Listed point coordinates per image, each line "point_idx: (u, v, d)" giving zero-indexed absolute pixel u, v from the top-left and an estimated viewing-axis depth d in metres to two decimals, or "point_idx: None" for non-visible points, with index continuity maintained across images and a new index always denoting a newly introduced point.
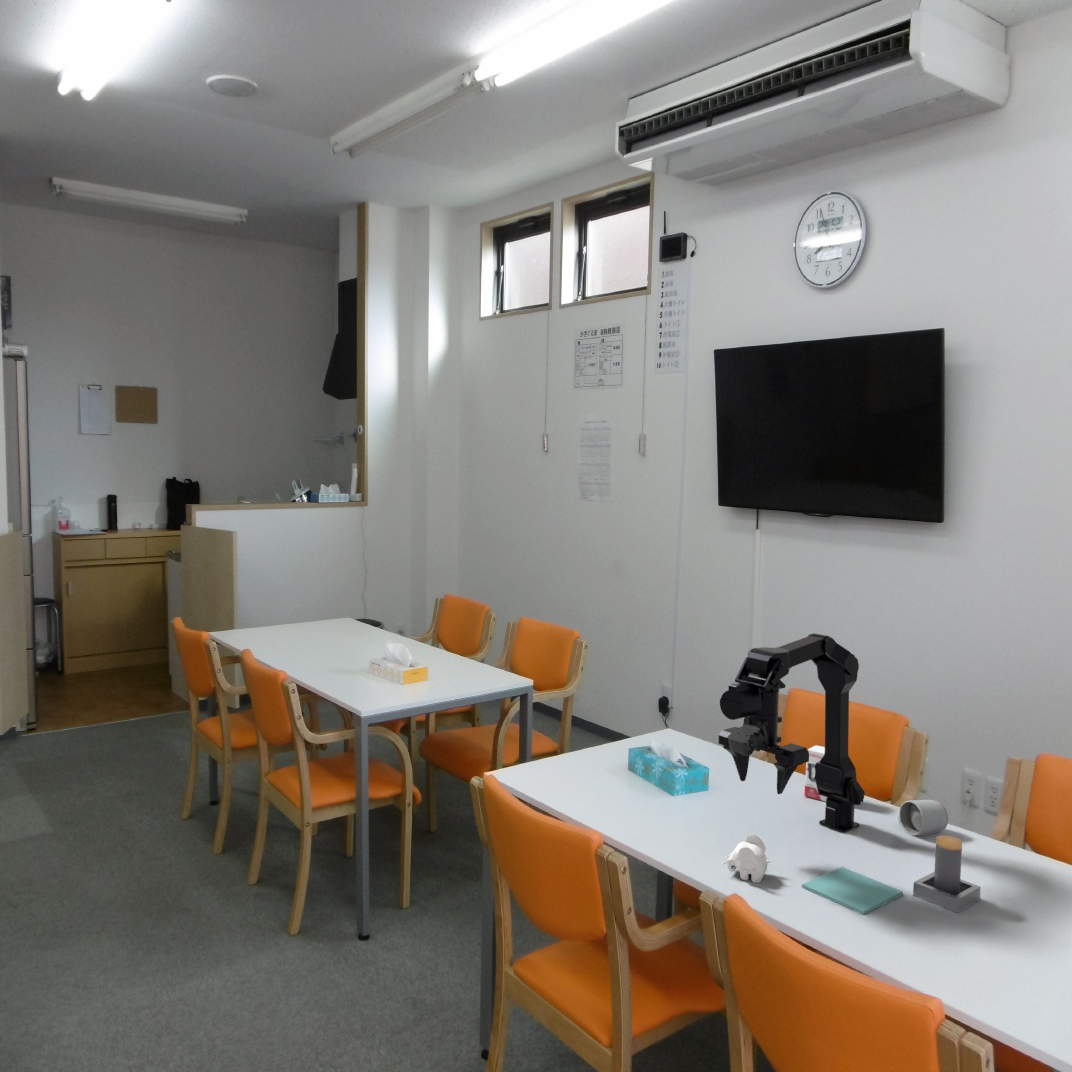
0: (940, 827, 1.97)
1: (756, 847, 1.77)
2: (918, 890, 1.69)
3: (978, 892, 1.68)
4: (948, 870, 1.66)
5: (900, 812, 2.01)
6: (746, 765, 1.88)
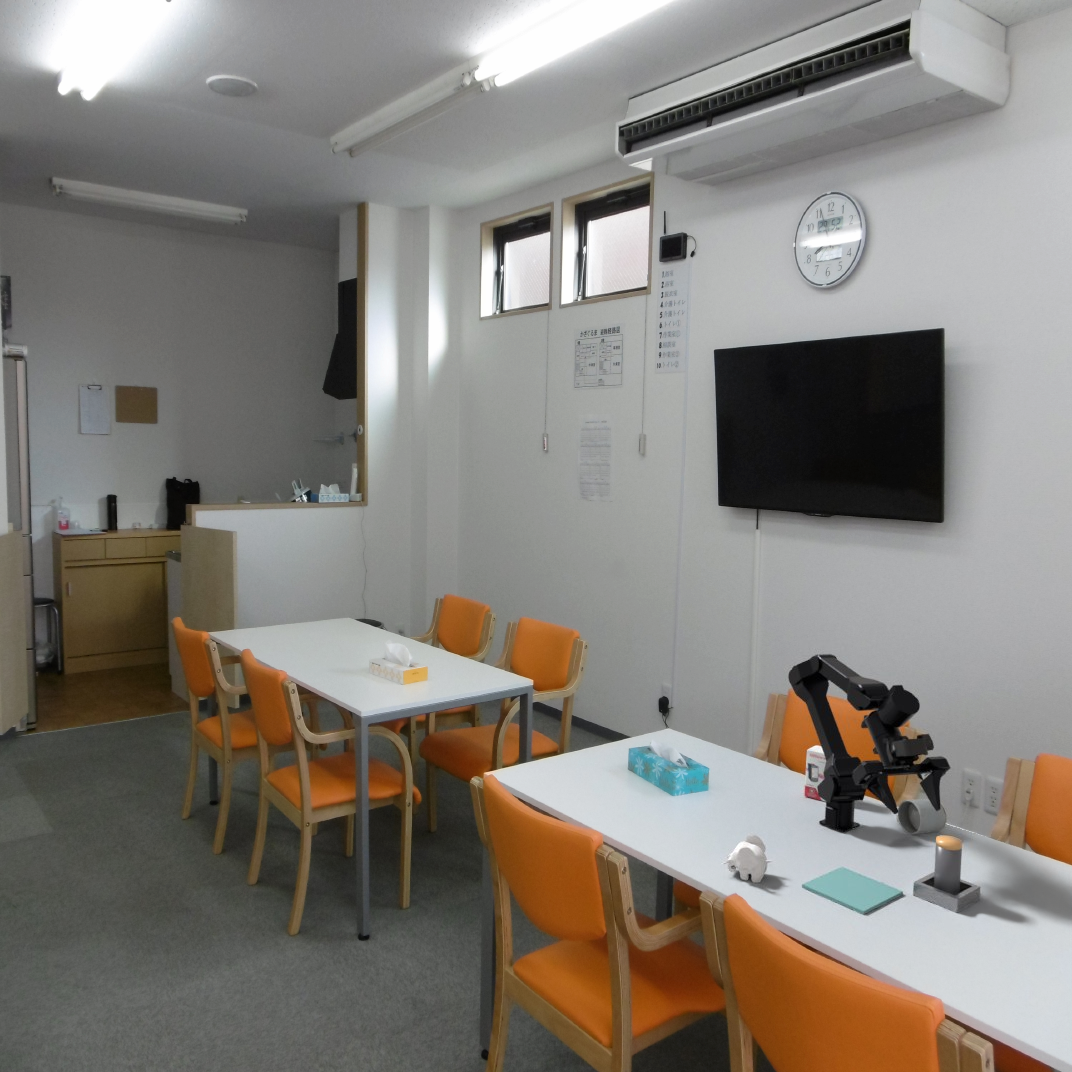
0: (939, 826, 1.97)
1: (756, 847, 1.77)
2: (918, 890, 1.69)
3: (978, 892, 1.68)
4: (948, 870, 1.66)
5: (898, 811, 2.02)
6: None
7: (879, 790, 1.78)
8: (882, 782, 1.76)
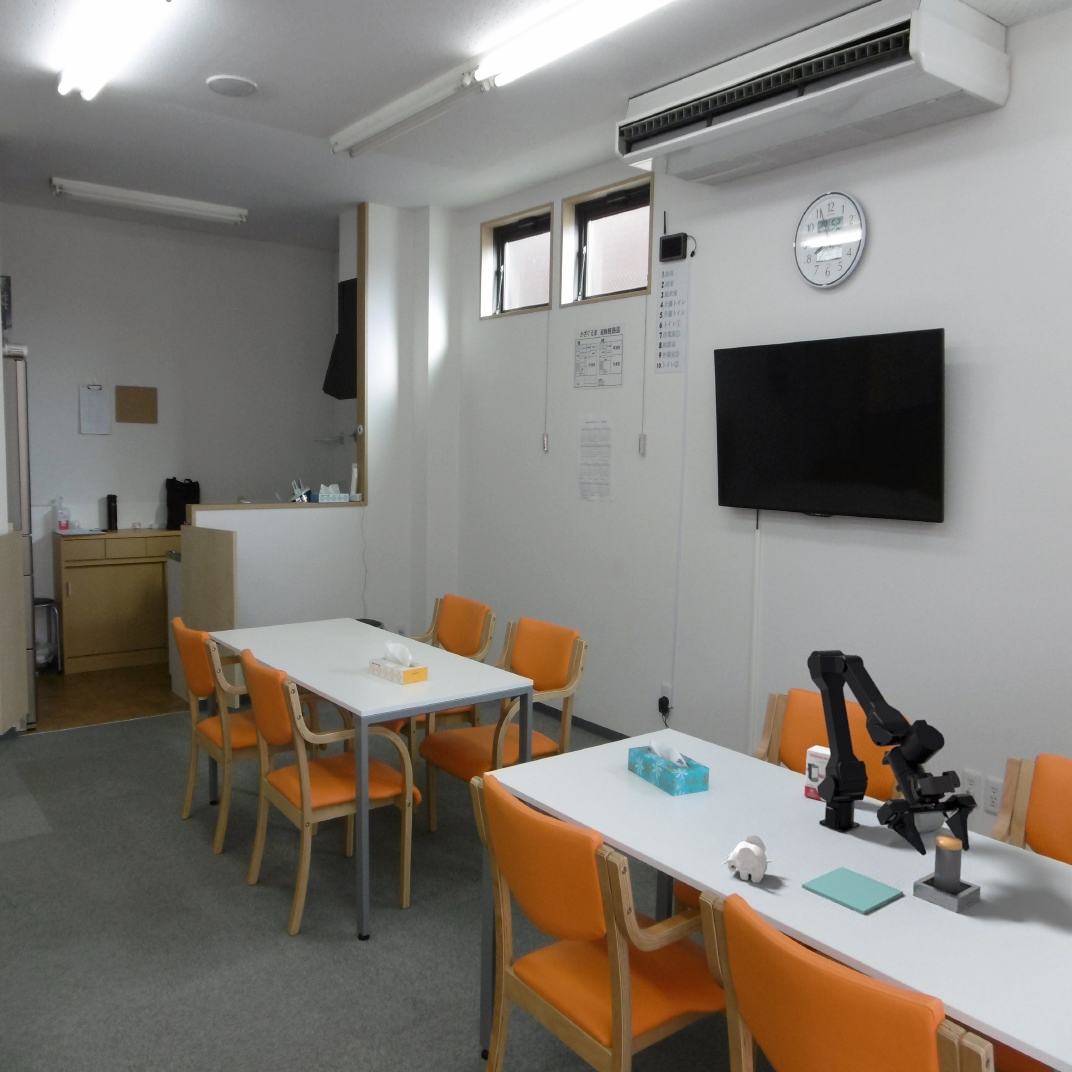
0: (937, 825, 1.98)
1: (756, 847, 1.77)
2: (918, 890, 1.69)
3: (978, 892, 1.68)
4: (948, 870, 1.66)
5: None
6: None
7: (905, 830, 1.71)
8: (909, 822, 1.70)
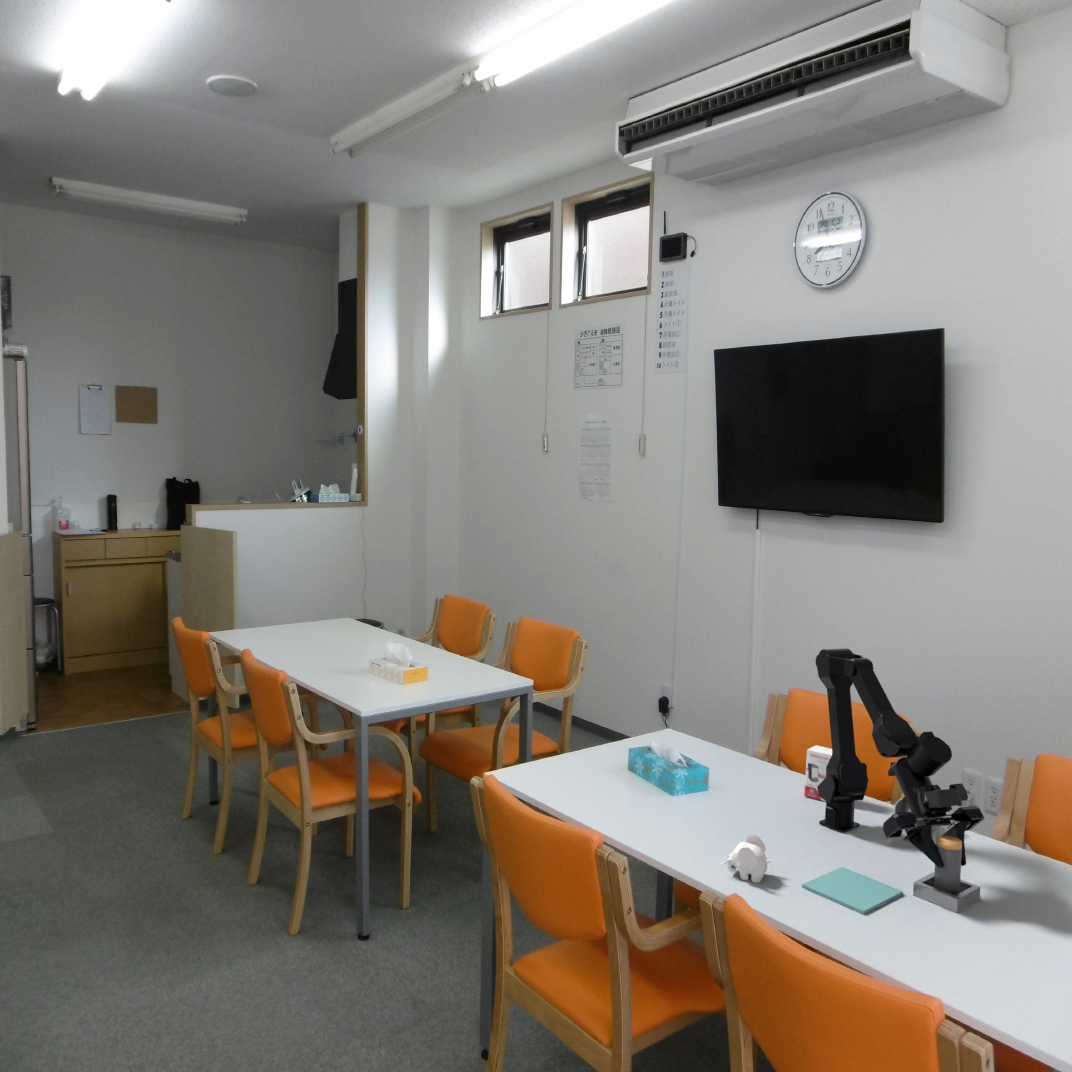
0: None
1: (756, 847, 1.77)
2: (918, 890, 1.69)
3: (978, 892, 1.68)
4: (948, 870, 1.66)
5: (895, 809, 2.03)
6: None
7: (922, 843, 1.70)
8: (926, 834, 1.68)
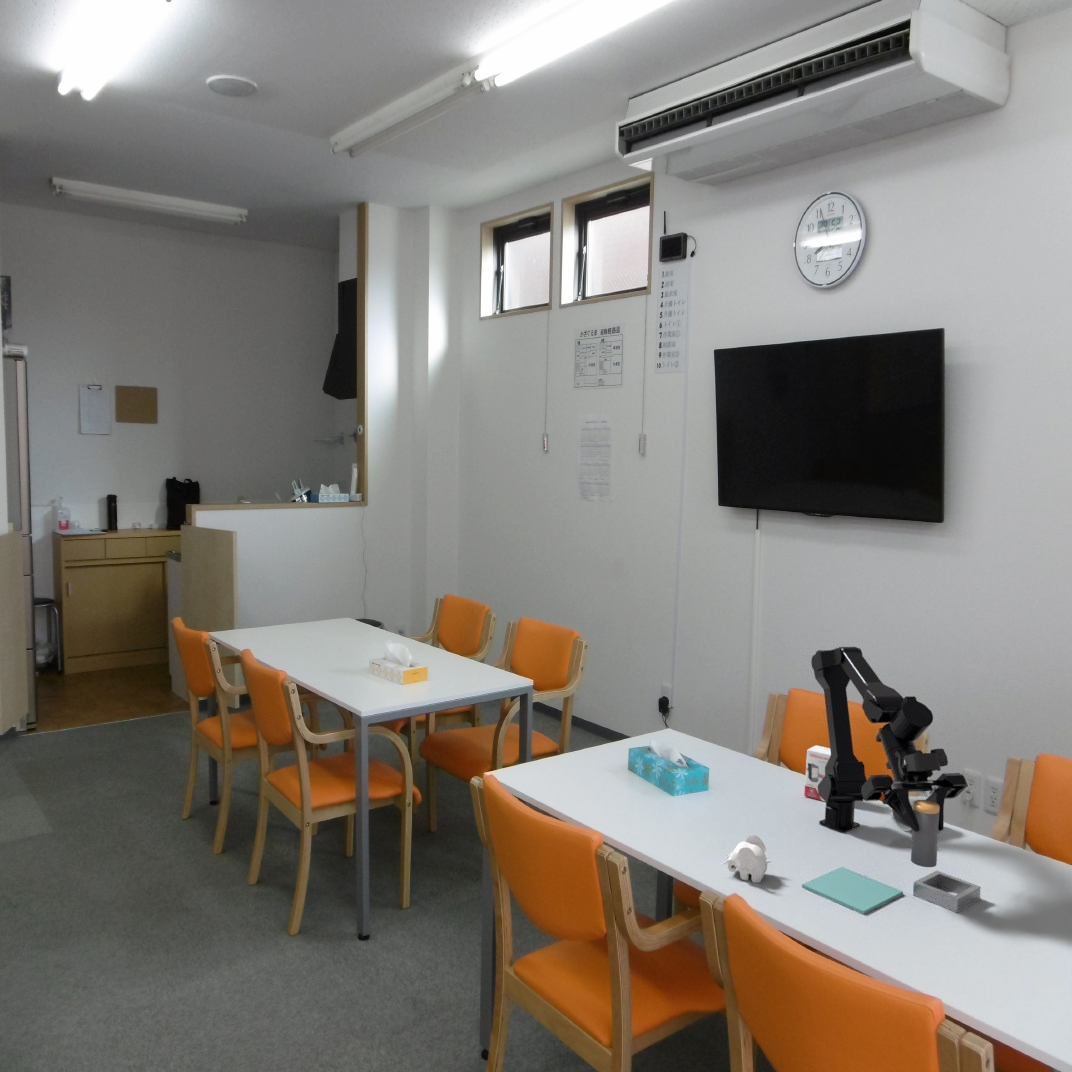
0: None
1: (756, 847, 1.77)
2: (918, 890, 1.69)
3: (978, 892, 1.68)
4: (923, 834, 1.66)
5: None
6: None
7: (900, 806, 1.70)
8: (902, 798, 1.68)
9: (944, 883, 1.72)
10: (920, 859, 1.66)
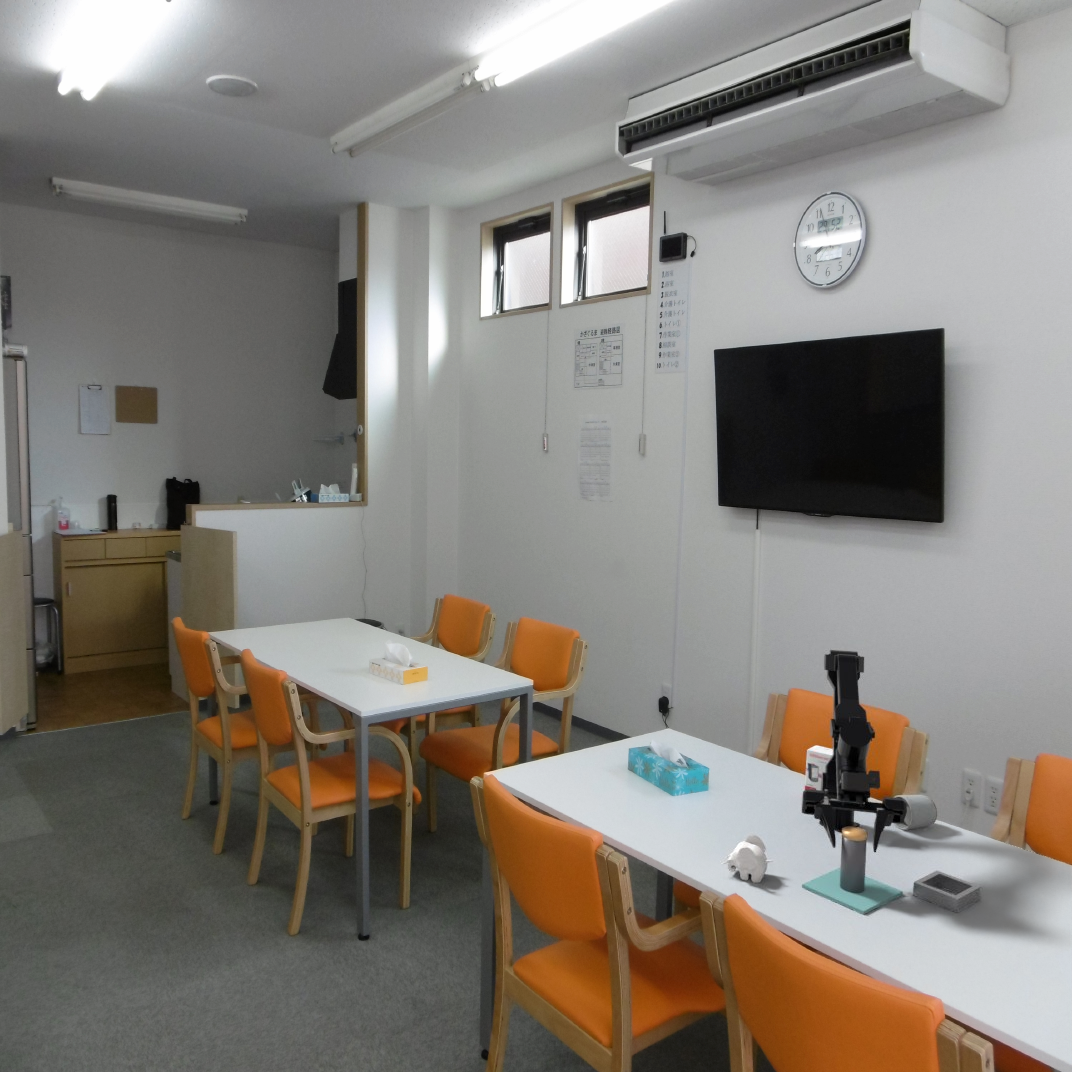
0: (929, 822, 2.00)
1: (756, 847, 1.77)
2: (918, 890, 1.69)
3: (978, 892, 1.68)
4: (846, 859, 1.69)
5: None
6: None
7: None
8: (825, 813, 1.72)
9: (944, 883, 1.72)
10: (844, 883, 1.70)
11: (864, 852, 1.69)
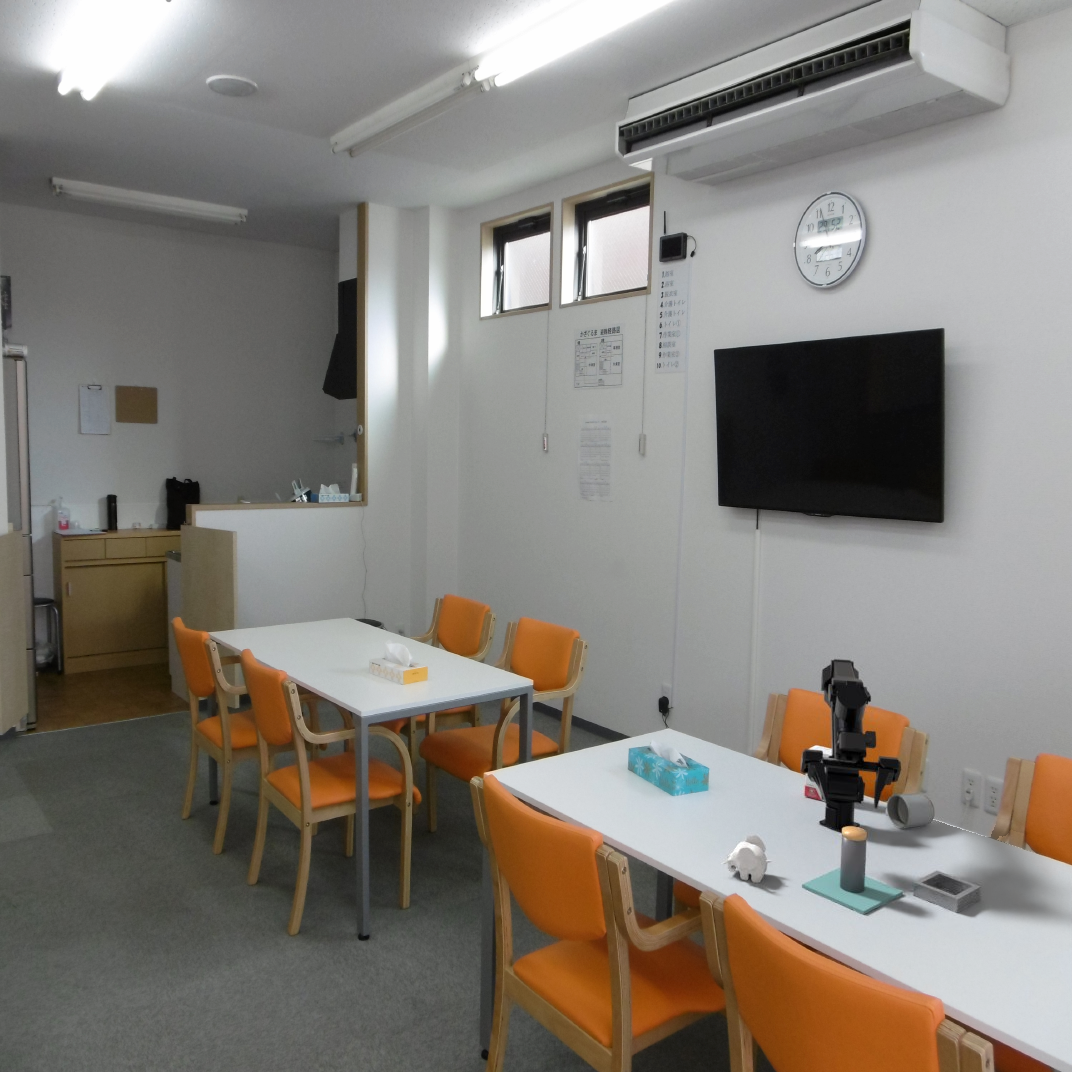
0: (927, 820, 2.01)
1: (756, 847, 1.77)
2: (918, 890, 1.69)
3: (978, 892, 1.68)
4: (846, 859, 1.69)
5: (887, 805, 2.05)
6: None
7: None
8: (818, 771, 1.81)
9: (944, 883, 1.72)
10: (844, 883, 1.70)
11: (864, 852, 1.69)
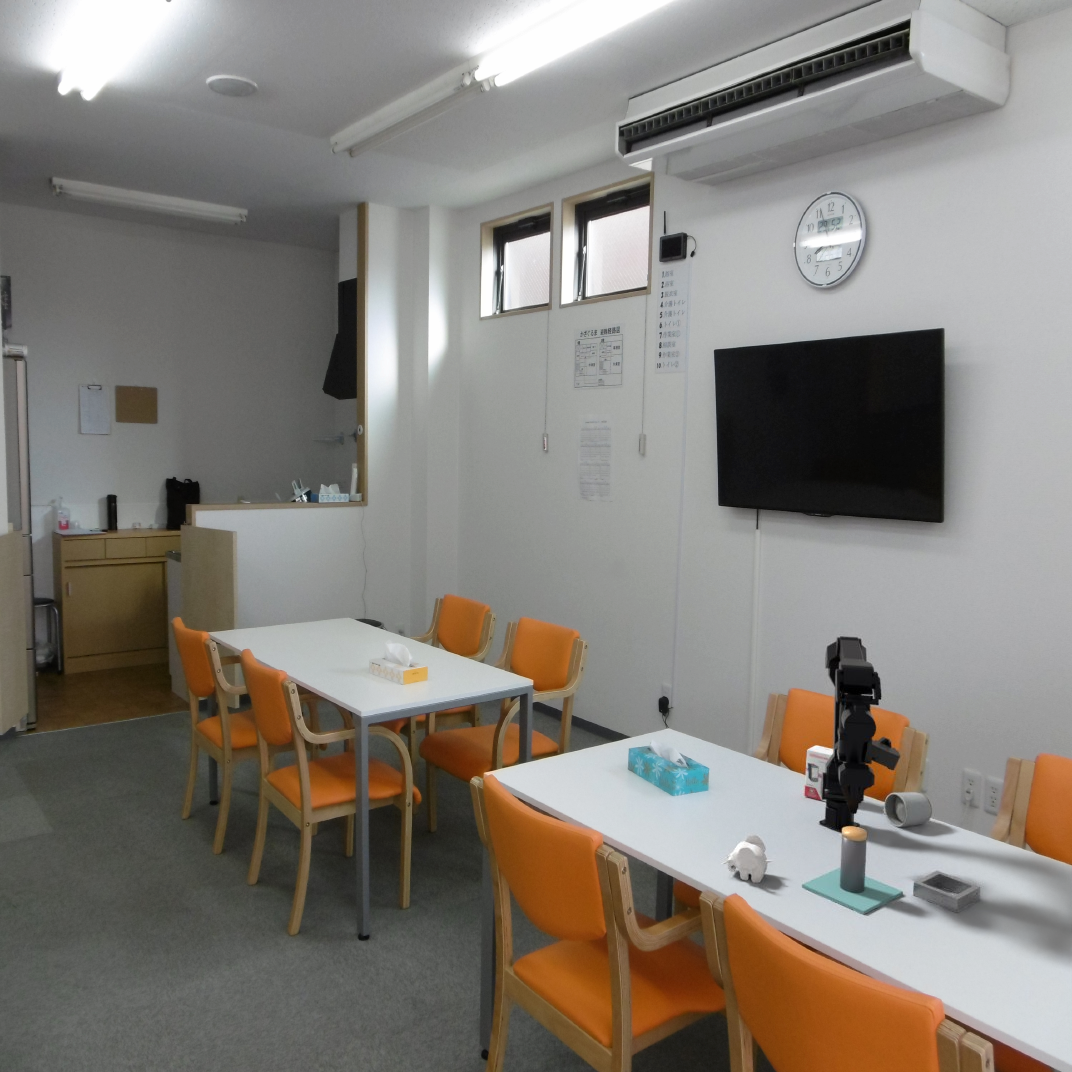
0: (924, 819, 2.01)
1: (756, 847, 1.77)
2: (918, 890, 1.69)
3: (978, 892, 1.68)
4: (846, 859, 1.69)
5: (885, 804, 2.06)
6: None
7: (851, 789, 1.74)
8: None
9: (944, 883, 1.72)
10: (844, 883, 1.70)
11: (864, 852, 1.69)
